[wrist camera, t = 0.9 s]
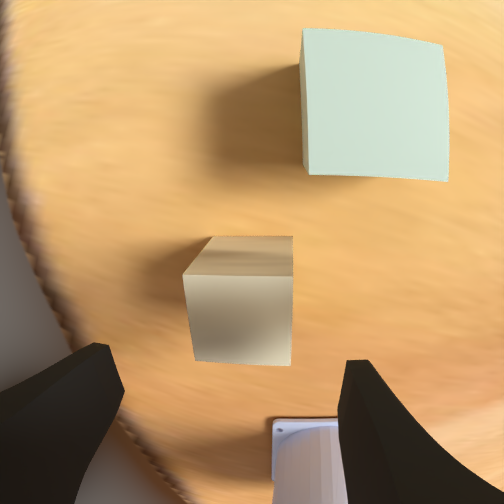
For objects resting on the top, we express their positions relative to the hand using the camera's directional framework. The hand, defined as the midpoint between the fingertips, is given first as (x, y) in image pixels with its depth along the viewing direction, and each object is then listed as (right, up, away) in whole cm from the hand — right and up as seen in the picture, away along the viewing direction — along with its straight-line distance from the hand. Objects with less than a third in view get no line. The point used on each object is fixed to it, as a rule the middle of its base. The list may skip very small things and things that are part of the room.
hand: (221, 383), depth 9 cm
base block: (+6, +10, +5) cm, 13 cm away
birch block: (+1, +3, +8) cm, 8 cm away
